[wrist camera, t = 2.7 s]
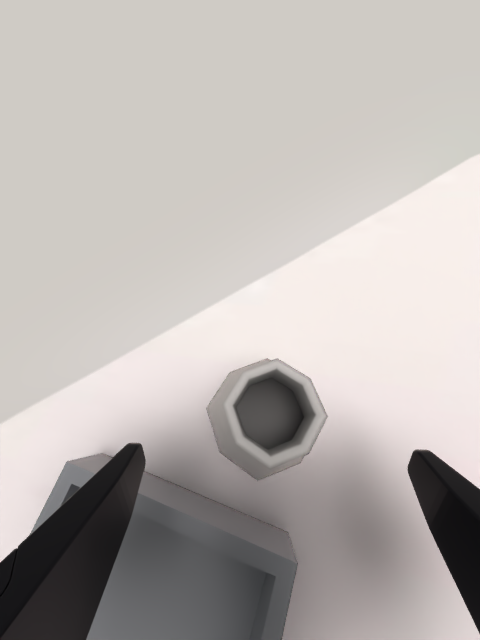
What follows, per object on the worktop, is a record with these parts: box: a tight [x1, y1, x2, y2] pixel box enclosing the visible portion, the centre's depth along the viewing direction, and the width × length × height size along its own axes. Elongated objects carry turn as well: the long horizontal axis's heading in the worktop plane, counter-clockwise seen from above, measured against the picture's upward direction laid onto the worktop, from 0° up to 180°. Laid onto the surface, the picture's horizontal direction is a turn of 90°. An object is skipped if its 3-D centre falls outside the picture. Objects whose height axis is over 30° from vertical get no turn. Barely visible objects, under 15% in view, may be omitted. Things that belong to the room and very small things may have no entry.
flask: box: [207, 359, 328, 481], centre depth 13 cm, size 7×7×10 cm
